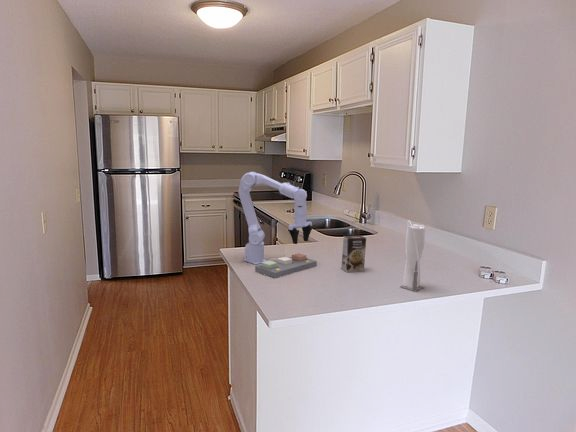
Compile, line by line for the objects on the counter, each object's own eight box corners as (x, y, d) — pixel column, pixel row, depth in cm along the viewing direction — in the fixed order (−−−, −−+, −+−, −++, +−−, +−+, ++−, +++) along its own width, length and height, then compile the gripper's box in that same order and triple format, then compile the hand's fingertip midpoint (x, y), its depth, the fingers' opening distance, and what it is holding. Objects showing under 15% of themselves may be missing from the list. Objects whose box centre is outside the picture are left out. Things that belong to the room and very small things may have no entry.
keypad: (255, 271, 183) (255, 265, 183) (296, 260, 203) (297, 255, 203) (275, 278, 174) (275, 272, 174) (316, 266, 194) (316, 260, 194)
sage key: (261, 268, 182) (261, 262, 182) (269, 266, 186) (269, 260, 185) (268, 271, 179) (269, 264, 178) (277, 269, 182) (277, 262, 182)
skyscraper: (396, 286, 168) (401, 220, 164) (406, 282, 174) (411, 218, 169) (415, 291, 162) (421, 223, 158) (424, 287, 168) (430, 221, 163)
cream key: (277, 264, 189) (277, 258, 189) (284, 262, 193) (284, 256, 192) (284, 267, 186) (284, 260, 185) (292, 265, 189) (292, 258, 189)
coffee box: (346, 272, 185) (348, 238, 182) (341, 268, 191) (342, 235, 188) (364, 271, 188) (366, 237, 185) (358, 267, 194) (360, 234, 191)
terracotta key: (291, 260, 196) (291, 254, 196) (298, 258, 200) (298, 253, 199) (299, 263, 193) (299, 257, 193) (306, 261, 197) (306, 255, 196)
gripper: (296, 217, 184) (296, 246, 186) (316, 213, 194) (316, 241, 197) (285, 215, 189) (285, 243, 191) (305, 212, 199) (305, 238, 202)
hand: (300, 242), depth 194 cm, fingers open, 7 cm apart
